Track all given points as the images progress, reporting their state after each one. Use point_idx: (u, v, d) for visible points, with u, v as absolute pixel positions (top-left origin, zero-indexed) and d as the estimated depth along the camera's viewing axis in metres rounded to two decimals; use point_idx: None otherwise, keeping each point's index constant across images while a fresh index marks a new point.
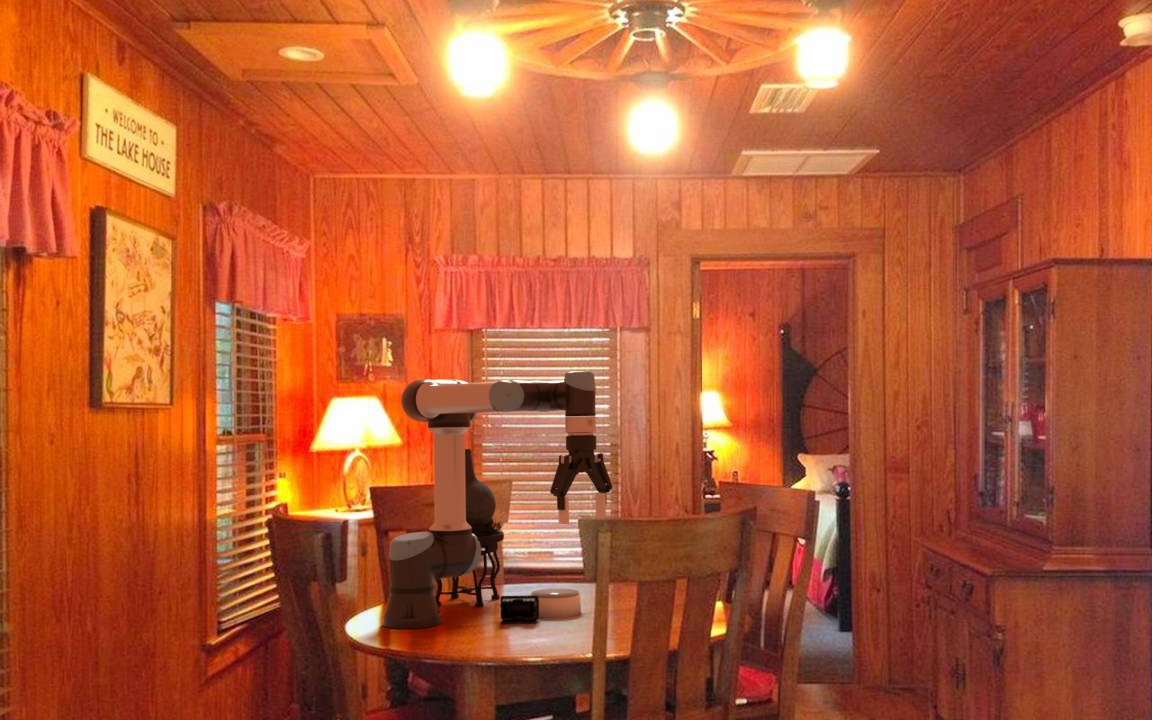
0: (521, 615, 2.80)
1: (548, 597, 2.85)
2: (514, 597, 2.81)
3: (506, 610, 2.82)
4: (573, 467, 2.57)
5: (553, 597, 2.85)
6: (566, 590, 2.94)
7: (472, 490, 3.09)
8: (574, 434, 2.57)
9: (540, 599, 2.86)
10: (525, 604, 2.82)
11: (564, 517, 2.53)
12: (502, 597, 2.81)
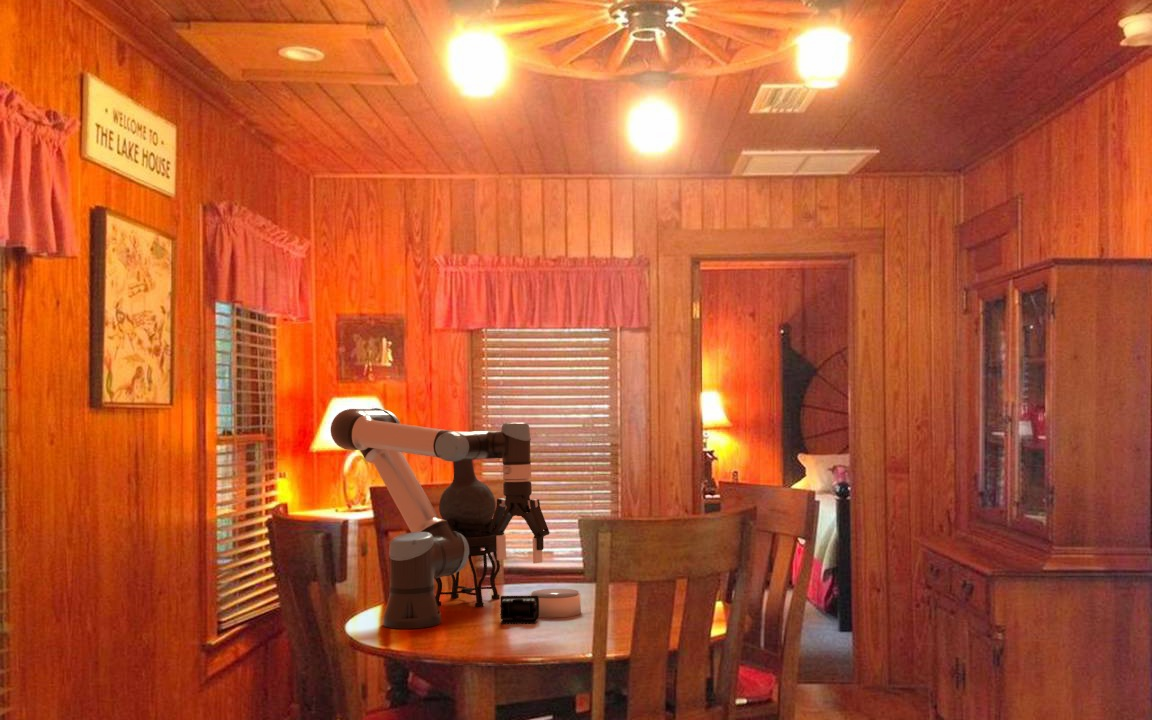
0: (521, 615, 2.80)
1: (548, 597, 2.85)
2: (514, 597, 2.81)
3: (506, 610, 2.82)
4: None
5: (553, 597, 2.85)
6: (566, 590, 2.94)
7: (472, 490, 3.09)
8: None
9: (540, 599, 2.86)
10: (525, 604, 2.82)
11: None
12: (502, 597, 2.81)
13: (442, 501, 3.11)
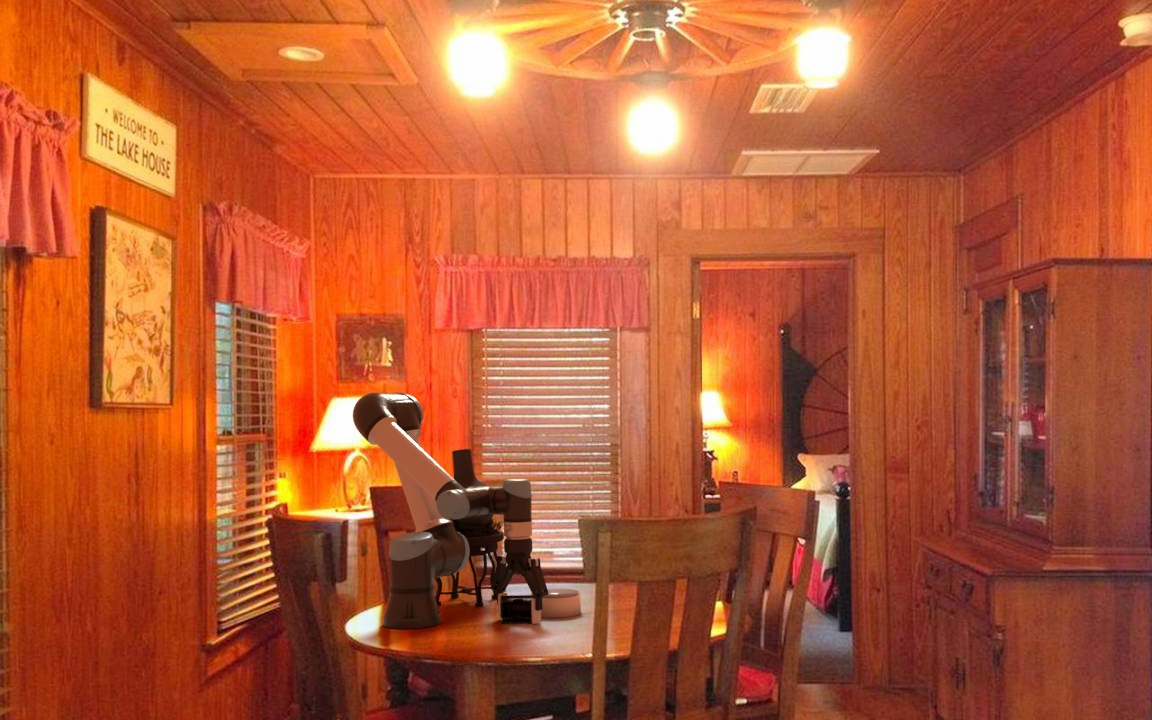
0: (522, 615, 2.80)
1: (548, 597, 2.85)
2: (514, 597, 2.80)
3: (506, 610, 2.82)
4: None
5: (553, 597, 2.85)
6: (566, 590, 2.94)
7: None
8: None
9: None
10: (525, 604, 2.82)
11: None
12: (502, 597, 2.81)
13: None
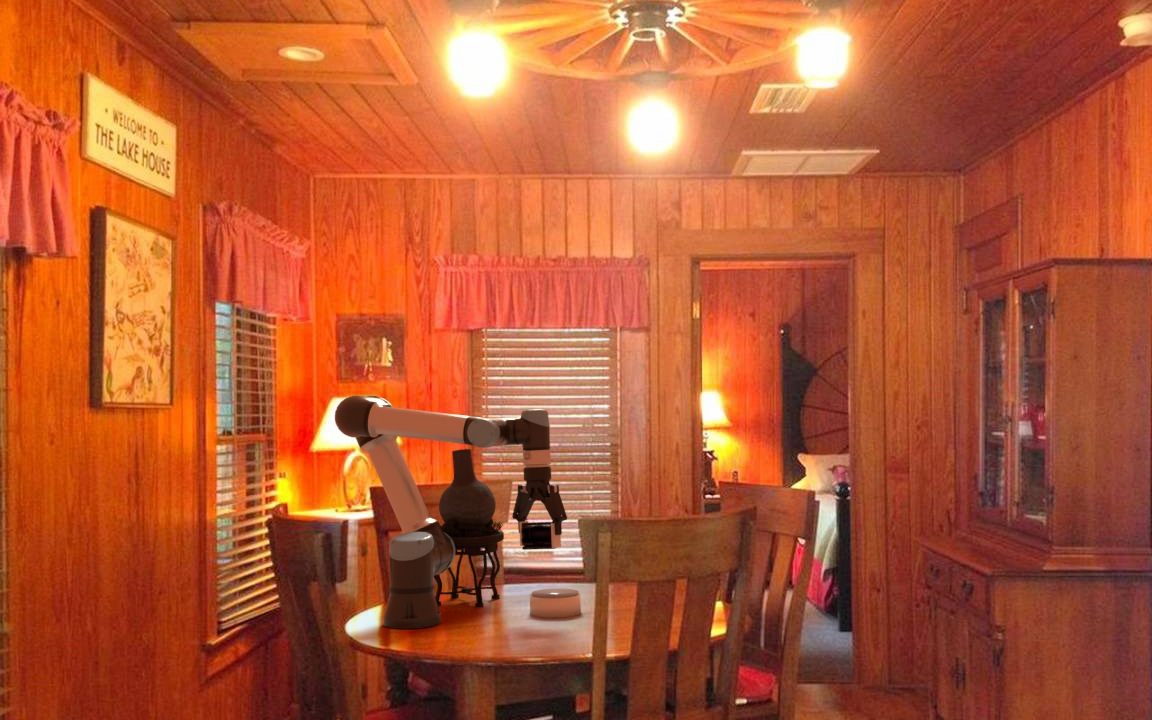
0: (542, 541, 2.87)
1: (548, 597, 2.85)
2: (535, 524, 2.88)
3: (527, 537, 2.89)
4: None
5: (553, 597, 2.85)
6: (566, 590, 2.94)
7: (472, 490, 3.09)
8: None
9: (540, 599, 2.86)
10: (546, 531, 2.89)
11: None
12: (523, 524, 2.88)
13: (442, 501, 3.11)
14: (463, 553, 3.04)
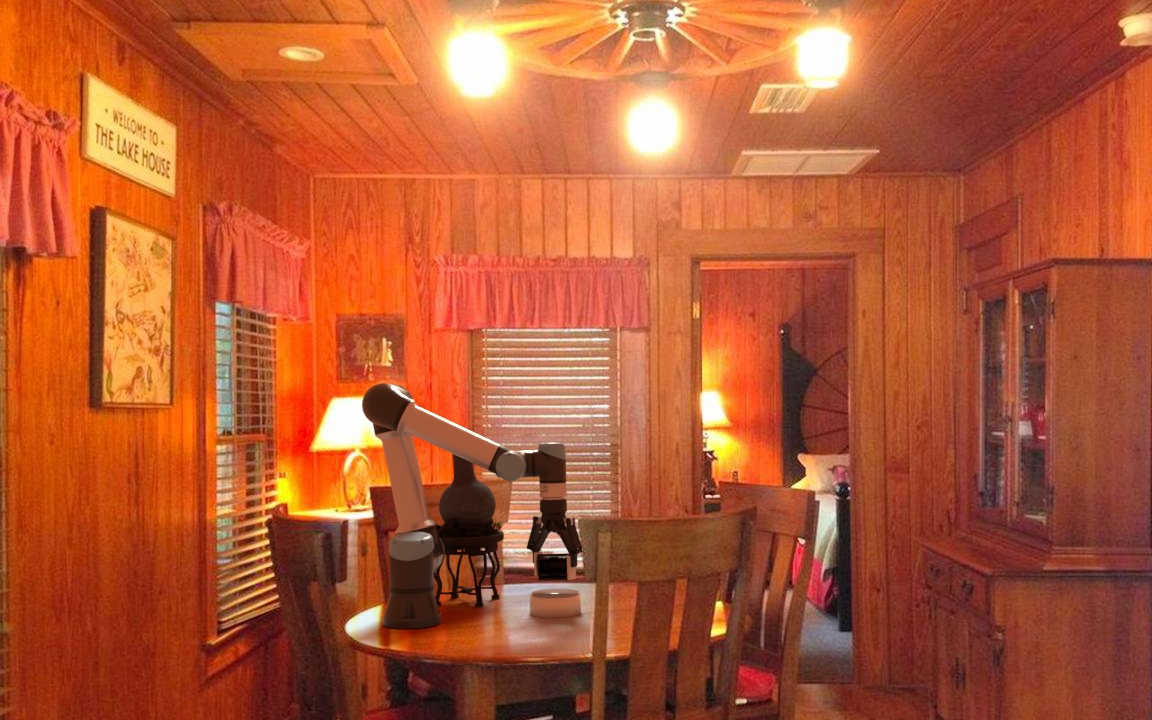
0: (557, 572, 2.92)
1: (548, 597, 2.85)
2: (550, 555, 2.93)
3: (542, 568, 2.94)
4: None
5: (553, 597, 2.85)
6: (566, 590, 2.94)
7: (472, 490, 3.09)
8: None
9: (540, 599, 2.86)
10: (560, 562, 2.95)
11: None
12: (538, 555, 2.93)
13: (442, 501, 3.11)
14: (463, 553, 3.04)
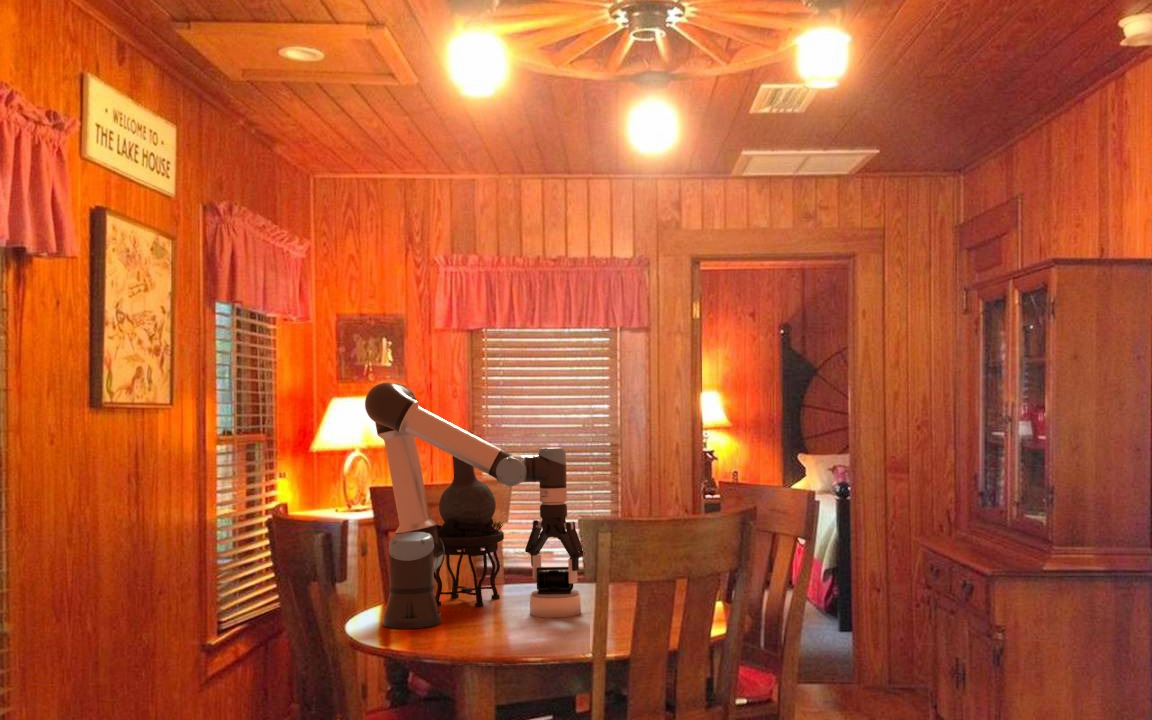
0: (557, 586, 2.92)
1: (548, 597, 2.85)
2: (549, 568, 2.93)
3: (542, 581, 2.94)
4: None
5: (553, 597, 2.85)
6: None
7: (472, 490, 3.09)
8: None
9: (540, 599, 2.86)
10: (560, 575, 2.94)
11: None
12: (538, 568, 2.93)
13: (442, 501, 3.11)
14: (463, 553, 3.04)
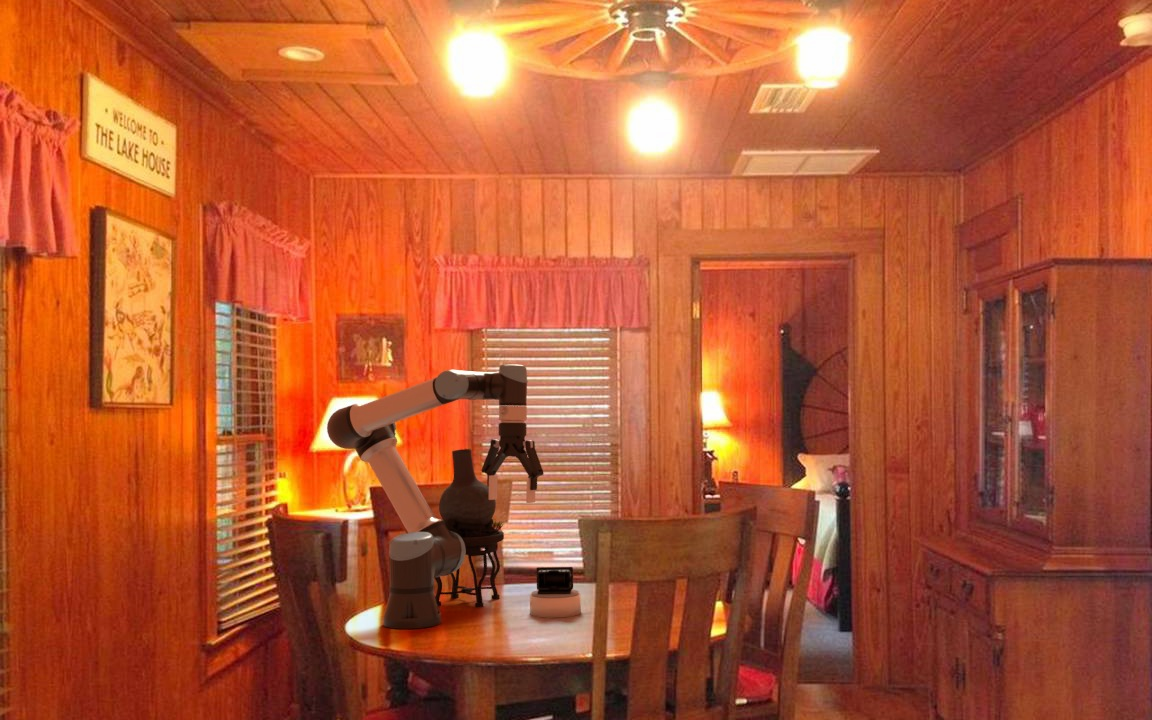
0: (557, 586, 2.92)
1: (548, 597, 2.85)
2: (550, 568, 2.93)
3: (542, 581, 2.94)
4: None
5: (553, 597, 2.85)
6: None
7: (472, 490, 3.09)
8: None
9: (540, 599, 2.86)
10: (560, 575, 2.94)
11: None
12: (538, 568, 2.93)
13: (442, 501, 3.11)
14: None
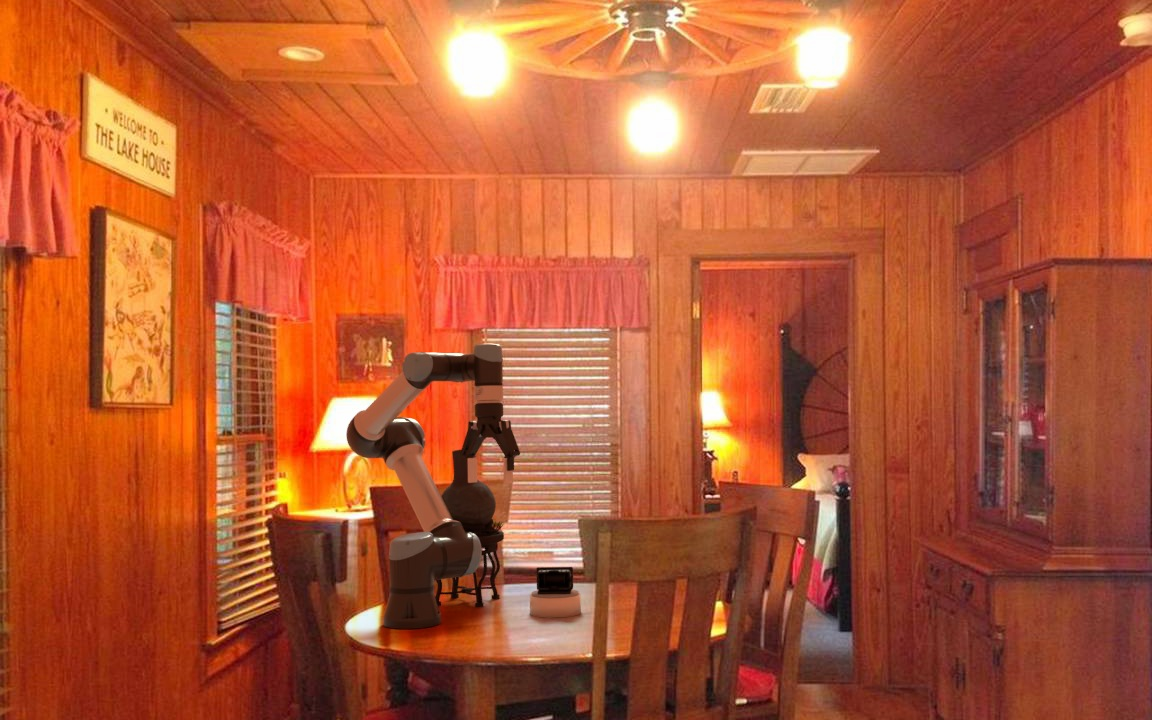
0: (557, 586, 2.92)
1: (548, 597, 2.85)
2: (549, 568, 2.93)
3: (542, 581, 2.94)
4: None
5: (553, 597, 2.85)
6: None
7: (472, 490, 3.09)
8: None
9: (540, 599, 2.86)
10: (560, 575, 2.94)
11: None
12: (538, 568, 2.93)
13: None
14: None
